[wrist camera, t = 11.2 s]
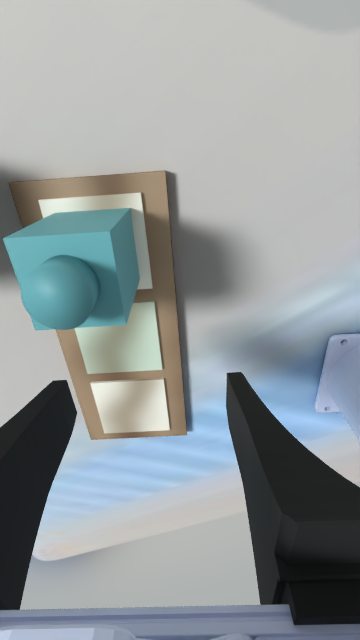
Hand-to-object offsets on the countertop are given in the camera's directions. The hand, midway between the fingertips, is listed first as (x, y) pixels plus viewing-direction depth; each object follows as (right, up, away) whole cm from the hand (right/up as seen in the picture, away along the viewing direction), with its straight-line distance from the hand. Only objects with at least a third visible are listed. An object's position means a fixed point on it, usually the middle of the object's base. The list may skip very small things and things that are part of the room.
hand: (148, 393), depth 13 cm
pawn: (-4, +8, +5) cm, 10 cm away
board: (-3, +2, +9) cm, 10 cm away
